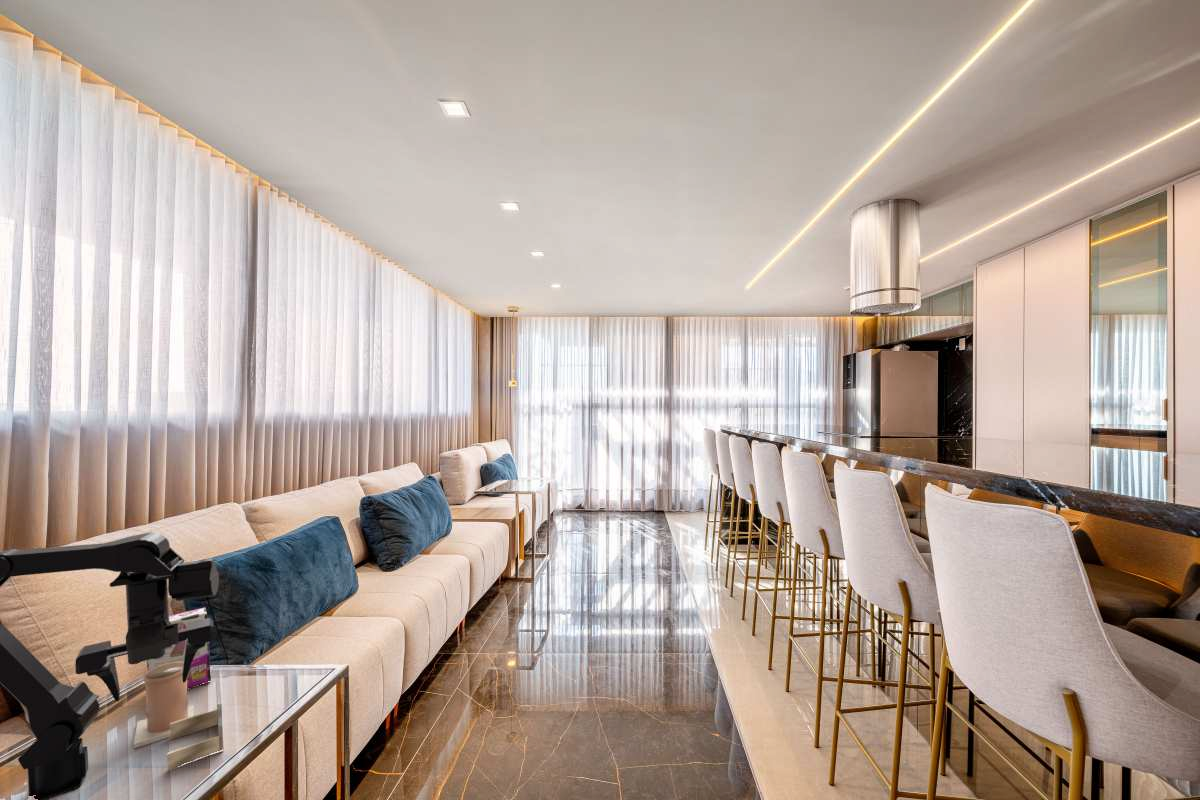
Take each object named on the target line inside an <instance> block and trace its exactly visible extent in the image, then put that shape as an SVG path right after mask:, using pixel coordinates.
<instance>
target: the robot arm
mask: <svg viewBox="0 0 1200 800" xmlns="http://www.w3.org/2000/svg"><path fill="white" fill-rule="evenodd" d="M93 569H94V570H105V571H111V572H114V573H115V572H116V573H117V572H119V574H118V576H117V577H116V578H115V579H114V580H113V581H111V582H110V583H109V587H110V588H115V587H121V586H125V599H126V620H127V621H126V622H127V632H126V634H125V643H120V644H117V645H113V646H112V642H111V640H107V641H101V642H98V643H92V644H89V645H84V646H83V647H82V648H81V649H80V650H79V651H78V655H77V656H76V658H75V662H74V663H75V665H74V666H75V675H82V674H86V675H87V676H88V677H92V676H96V677H98V678H100V680H102V682H103V683H105V685H106V687H107V689H108V691H109V693H111V696H112V697H113V699H114V700H115V702H119V701H120V698H121V697H120V696H121V693H120V690H121V689H120V683H119V677H118V672H117V666H116V658H118V657H121V656H127V662H128V664H129V665H137V664H140V663H143V662H147V660H150V659H158V658H160V657H162V656H163V655H164V654H165V648H168V647H172V645H175V644H178V642H180V641H184V640H186V647H185V656H184V664H183V675H182V677H183V683H184V682H186V679H187V676H188V673H189V670H190V666H191V663H192V661H193V658H194V656H195V654H196V652H197V651H198V649H199V648H203V647H205V646H206V643H207V642H209V643H210V642H212V641H214V640H215V629H214V620H213V619H212V618H210V617H207V619H202V620H198V621H193V622H189V623H188V627H187V629H185V630H181V631H178V623H175V624H171V625H169V616H170V612H169V596H170V597H171V599H172V600H174V599H175V600H176V601H178V602H179V601H181V602H182V601H187V600H192V599H200V598H205V597H212V596H216V595H217V594H218V593H217V592H218V590H219V585H220V584H219V581H220V575H219V573H220V572H219V571H218V567H217V565H216V564H215V558H214V557H208V558H203V559H201V560H196V561H195V560H194V561H188V562H187V561H186V562H185V559H184V558H183V557H182V556H181V555H179V554H178V553H177V552H176V551H175V550H174V549H173V548H172V547H171V546H170V541H169V540H168V537H165V536H164V535H163V534H162V533H159V532H158V531H157V532H155V531H153V532H152V531H150V532H145V533H139V534H136V535H130V536H127V537H124V538H119V539H116V540H112V541H108V542H103V543H92V544H89V543H88V544H77V545H65V546H54V547H42V548H41V547H40V548H39V547H38V548H29V549H26V548H25V549H16V548H10V549H6V550H3V551H1V552H0V588H1V587H2V586H4V585H5V584H6V582H8V581H9V580H10V579H11V578H12V577H19V576H30V575H32V576H33V575H43V574H52V573H61V572H62V573H65V572H73V571H84V570H93ZM0 685H2V686H3V687H4V689H6V690H7V692H9V693H10V694H11V696H13V697H14V698H15V700H17V701H18V702H19V703H20V704H21V705H22V706H23V707H24V708H25V710H26V712H27V719H28V723H29V729H30V731H31V733H32V734H33V735H34V737H35V740H34V741H33V743H32V744H31V745H29V746H28V748H26V750H24V752H23V753H22V754H21V755H20V756H19V757H18V759H17V761H18V763H19V765H20V767H22V768H23V770H27V780H28V781H27V783H28V795H29V796H33V795H36V796H34V798H35V799H38V800H46V799H49V798H51V797H55V796H57V795H60V794H62V793H67V792H69V791H73V790H75V789H77V788H79V787H81V786H82V784H83V783H82V782H83V779H84V778H85V777H87V775H88V774H87V773H88V771H89V755H88V751H89V750H88V746H87V745H84V744H83V743H84V742H83V738H82V735H83V734H84V733H85V732H86V730H87V729H88V728H89V727H90V726H91V724H92V723H93V722H94V721H95V719H96V718H97V717H98V714H99V711H100V707H101V706H100V703H99V701H98V699H99V697H100V695H99V694H96V693H94V692H93V691H91V690H90V688H89V687H88V685H87V683H86V682H84V681H80V682H79V683H77V684H76V686H71V685H67V684H63V683H62V682H60V681H59V680H58V679H57V678H56V677H55V676H54V675H53V674H52V673H51V672H50V671H49V670H48V669H47V668H46V667H45V665H44V664H43V663H41V661H40V660H39V659H38V658H37V657H36V656H35V655H33V653H32V652H31V651H29V649H27V647H26V646H25V645H24V644H23V643H22V642H21V641H20V640H19V639H18V638H17V637H16V636H15V635H14V634H13V633H12V632H11V631H10V630H9V629H8V628H7V627H6V626H5V625H4V624H3V622H2V621H1V619H0Z"/></svg>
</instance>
